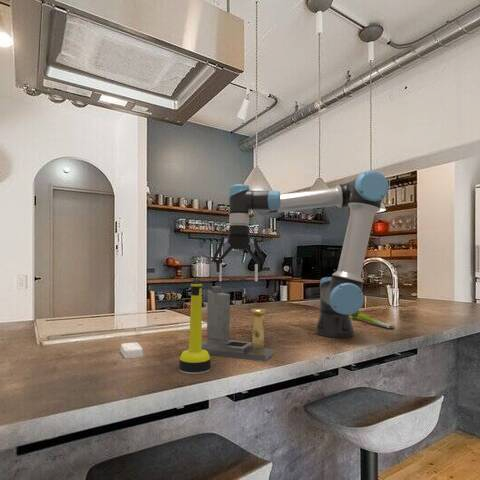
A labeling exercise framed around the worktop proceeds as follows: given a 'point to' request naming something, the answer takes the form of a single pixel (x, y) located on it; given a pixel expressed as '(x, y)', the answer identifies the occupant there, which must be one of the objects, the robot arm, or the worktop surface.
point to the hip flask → (218, 314)
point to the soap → (131, 350)
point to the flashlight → (195, 337)
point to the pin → (258, 327)
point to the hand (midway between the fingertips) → (238, 281)
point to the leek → (370, 320)
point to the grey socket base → (236, 349)
